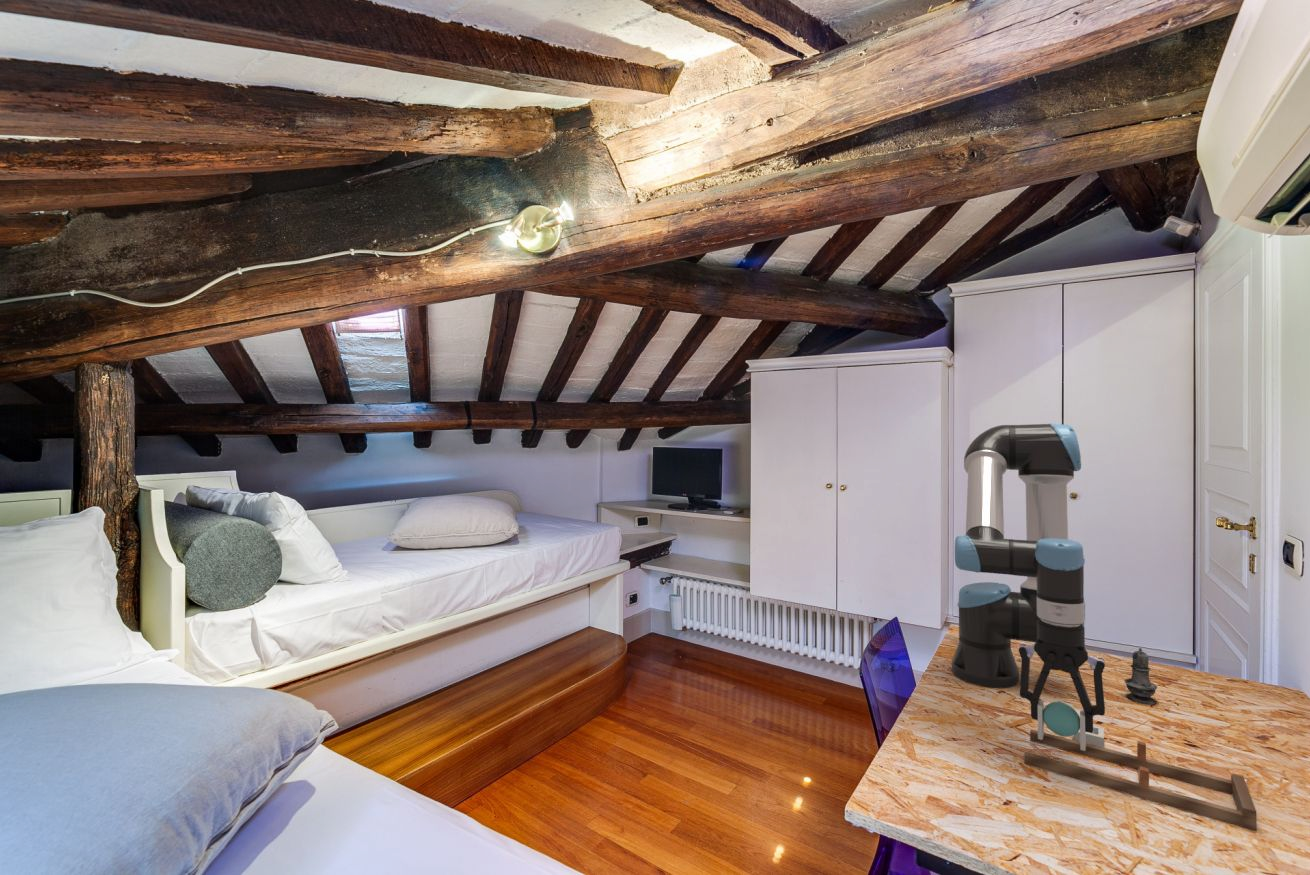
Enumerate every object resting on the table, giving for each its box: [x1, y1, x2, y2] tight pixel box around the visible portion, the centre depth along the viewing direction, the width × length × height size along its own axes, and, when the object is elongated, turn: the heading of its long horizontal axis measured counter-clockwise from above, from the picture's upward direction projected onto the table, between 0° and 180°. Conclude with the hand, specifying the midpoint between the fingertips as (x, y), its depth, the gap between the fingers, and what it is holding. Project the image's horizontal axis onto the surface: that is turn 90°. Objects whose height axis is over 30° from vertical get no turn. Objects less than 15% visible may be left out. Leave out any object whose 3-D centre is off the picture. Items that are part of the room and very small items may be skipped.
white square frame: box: [1073, 724, 1105, 748], centre depth 119 cm, size 5×5×2 cm
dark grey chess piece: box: [1124, 647, 1158, 705], centre depth 135 cm, size 6×6×12 cm
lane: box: [1023, 729, 1258, 831], centre depth 106 cm, size 31×11×5 cm, turn 52°
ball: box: [1043, 701, 1080, 738], centre depth 111 cm, size 6×6×6 cm
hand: (1061, 741), depth 111 cm, fingers closed on ball, 6 cm apart
